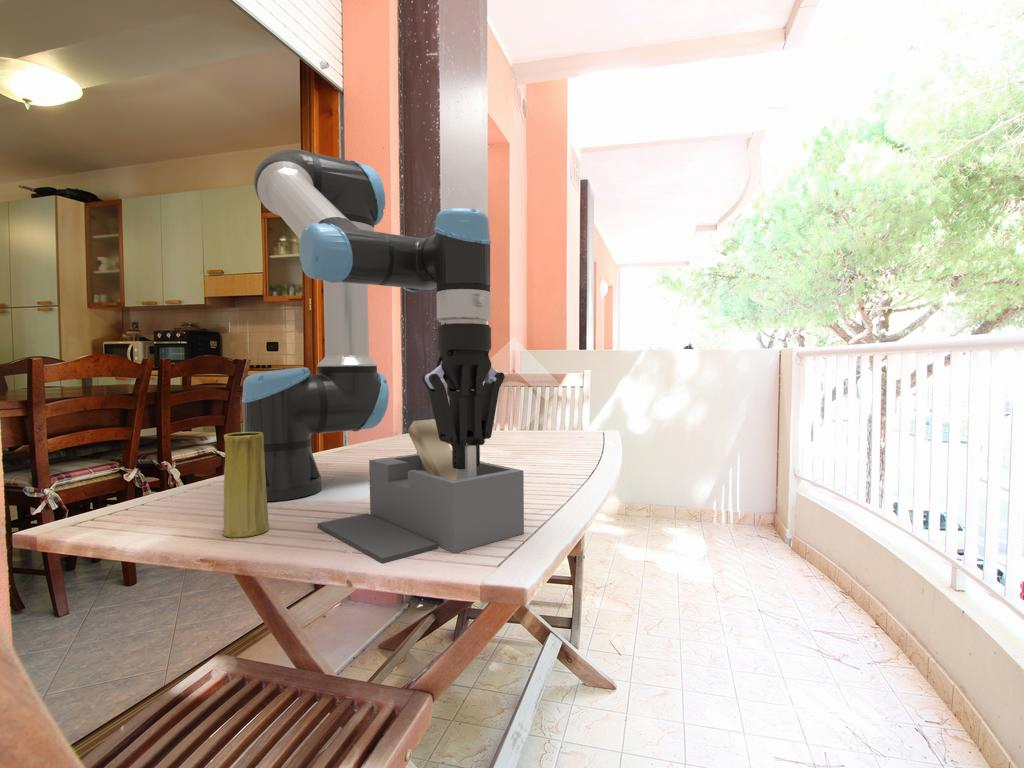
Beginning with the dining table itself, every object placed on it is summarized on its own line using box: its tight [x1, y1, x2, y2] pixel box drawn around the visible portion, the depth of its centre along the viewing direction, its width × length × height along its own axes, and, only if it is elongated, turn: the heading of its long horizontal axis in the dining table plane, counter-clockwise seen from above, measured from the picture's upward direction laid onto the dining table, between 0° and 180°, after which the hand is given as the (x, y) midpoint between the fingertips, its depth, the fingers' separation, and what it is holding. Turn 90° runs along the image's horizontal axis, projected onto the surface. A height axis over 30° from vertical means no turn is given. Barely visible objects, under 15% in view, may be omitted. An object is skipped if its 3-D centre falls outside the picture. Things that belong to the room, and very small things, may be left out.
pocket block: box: [368, 453, 525, 554], centre depth 83 cm, size 23×12×9 cm, turn 41°
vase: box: [222, 431, 270, 539], centre depth 81 cm, size 6×6×14 cm
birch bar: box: [407, 418, 457, 480], centre depth 83 cm, size 18×4×2 cm
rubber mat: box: [317, 512, 439, 564], centre depth 78 cm, size 20×8×1 cm, turn 41°
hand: (466, 490), depth 79 cm, fingers closed
